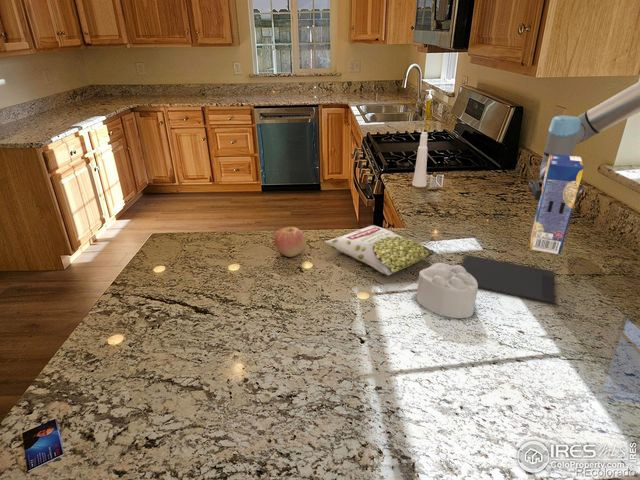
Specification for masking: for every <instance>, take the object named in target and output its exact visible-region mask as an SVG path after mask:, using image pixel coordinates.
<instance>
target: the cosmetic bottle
mask: <svg viewBox="0 0 640 480" xmlns="http://www.w3.org/2000/svg"><path fill="white" fill-rule="evenodd" d="M428 137H429V135H428V132H427V131H421V134H420V138H419V146H418V147H417V155H416V161H415V168H414V173H413V178H412V182H411V185H412V186H413V187H416V188H425V187H427V185H428V184H427V164H428V163H427V162H428Z"/></svg>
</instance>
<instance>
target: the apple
mask: <svg viewBox="0 0 640 480" xmlns="http://www.w3.org/2000/svg"><path fill="white" fill-rule="evenodd" d="M273 244H274V246H275V248H276V250H277V251H278V252H279V254H281V255H283V256H285V257H288V258H292V257H296V256H298V255H299V254H301V253H302V252H303V250H304V248H305V244H306V238H305V235H304V232H303V231H302V230H301V229H300V228H298V227H295V226H288V227H282V228H280V229H279V230H277V231H276V233H275V234H274V238H273Z"/></svg>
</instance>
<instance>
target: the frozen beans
mask: <svg viewBox="0 0 640 480" xmlns="http://www.w3.org/2000/svg"><path fill="white" fill-rule="evenodd" d="M324 242H325V243H326V244H327V245H328V246H329V247H331V248H332V249H334V250H335V251H338V252H339V253H342V254H344V255H346V256H349V257H351V258H353V259H355V260H357V261H359V262H360V263H364V264H365V265H368V266H370V267H371V268H373V269H374V270H376V271H377V272H379V273H381V274H383V275H386V276H391V275H392V274H394V273H397V272H400V271H401V270H405V269H406V268H408V267H410V266H412V265H414V264H416V263H418V262H421V261H422V260H425V259H426V258H429V257H431V256H433V255H436V254H437V252H436V251H434V250H433V249H431V248H429V247H428V246H427V247H426V246H425V245H423V244H421V243H419V242H417V241H416V240H415V241H414V240H412V239H410V238H407V237H405V236H403V235H400V234H398V233H396V232H393V231H391V230H389V229H385V228H383V227H380V226H378V225H375V224H372V225H368V226H366V227H363V228H361V229H358V230H355V231H352V232H349V233H346V234H344V235H340V236H337V237H334V238H332V239H329V240H325V241H324Z"/></svg>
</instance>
